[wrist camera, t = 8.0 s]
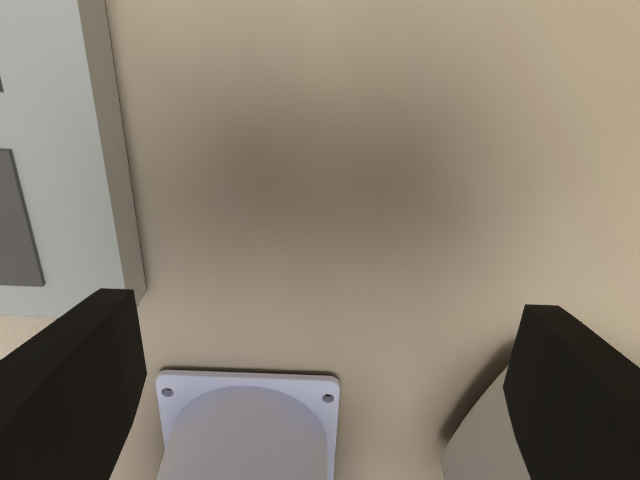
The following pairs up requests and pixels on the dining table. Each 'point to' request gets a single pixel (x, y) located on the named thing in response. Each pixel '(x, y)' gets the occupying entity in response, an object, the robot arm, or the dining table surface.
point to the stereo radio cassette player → (485, 442)
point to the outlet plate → (62, 161)
